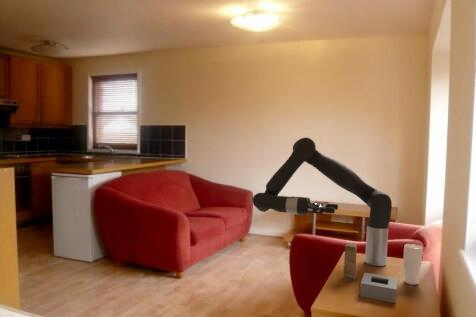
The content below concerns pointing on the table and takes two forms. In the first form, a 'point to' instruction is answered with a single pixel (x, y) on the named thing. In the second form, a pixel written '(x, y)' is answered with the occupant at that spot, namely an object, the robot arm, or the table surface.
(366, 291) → the box
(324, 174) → the robot arm
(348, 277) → the tall brown pillar
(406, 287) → the table surface
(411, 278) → the drinking glass
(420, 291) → the table surface
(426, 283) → the table surface
